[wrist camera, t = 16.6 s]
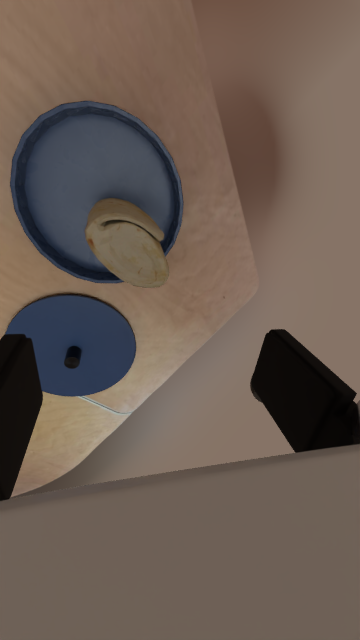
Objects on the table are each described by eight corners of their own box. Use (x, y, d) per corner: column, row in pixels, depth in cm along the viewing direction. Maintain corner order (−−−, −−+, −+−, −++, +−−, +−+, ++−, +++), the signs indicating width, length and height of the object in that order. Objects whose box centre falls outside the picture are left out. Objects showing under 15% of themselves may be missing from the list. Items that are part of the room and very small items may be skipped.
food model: (85, 217, 38) (61, 251, 21) (111, 180, 36) (109, 183, 19) (137, 258, 43) (152, 312, 26) (162, 226, 41) (196, 261, 24)
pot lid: (137, 293, 46) (139, 304, 42) (134, 387, 57) (135, 403, 53) (-8, 291, 40) (-21, 304, 36) (19, 396, 51) (11, 415, 47)
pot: (184, 126, 36) (192, 120, 32) (169, 275, 46) (174, 284, 42) (6, 93, 30) (-9, 81, 26) (35, 271, 40) (27, 281, 37)
